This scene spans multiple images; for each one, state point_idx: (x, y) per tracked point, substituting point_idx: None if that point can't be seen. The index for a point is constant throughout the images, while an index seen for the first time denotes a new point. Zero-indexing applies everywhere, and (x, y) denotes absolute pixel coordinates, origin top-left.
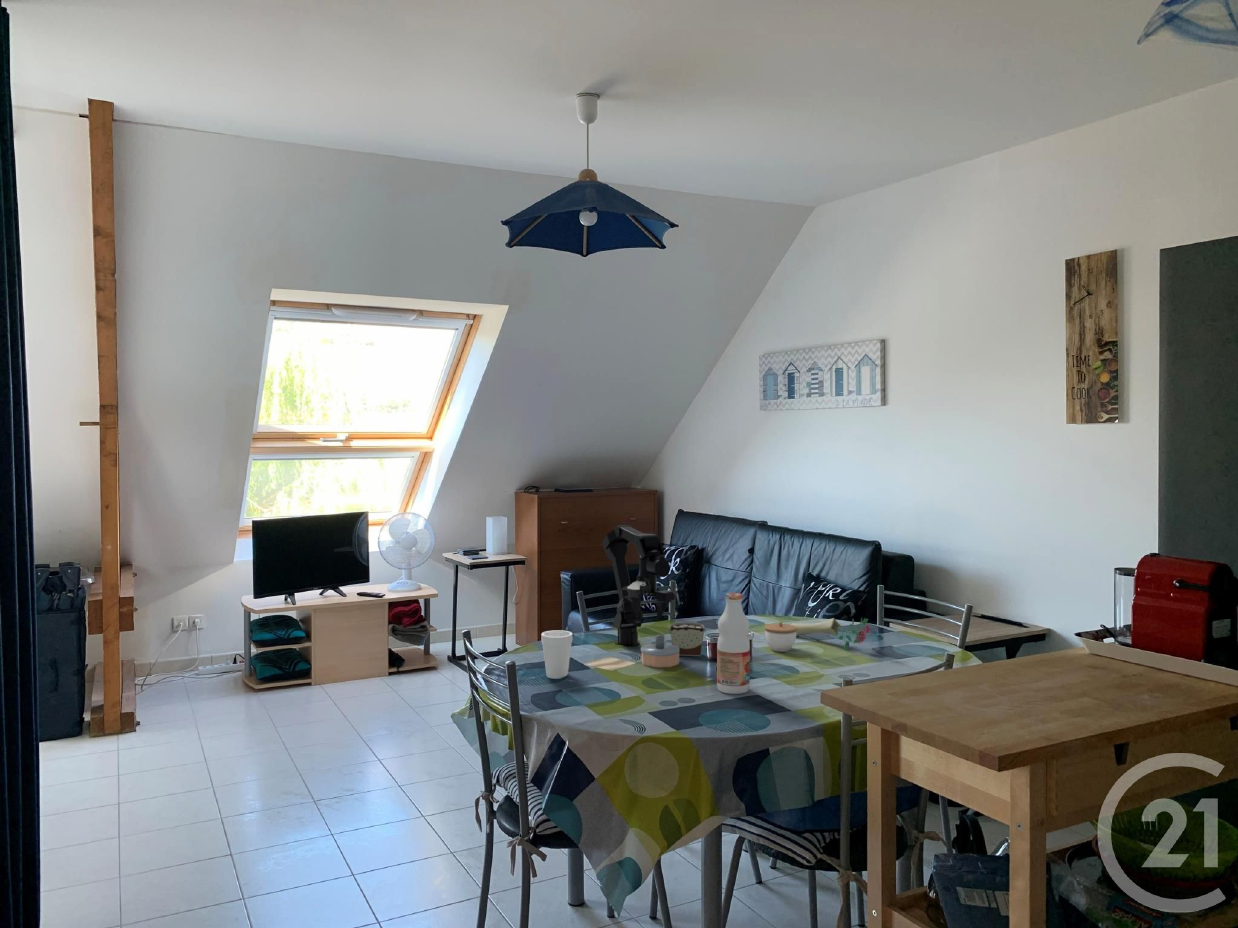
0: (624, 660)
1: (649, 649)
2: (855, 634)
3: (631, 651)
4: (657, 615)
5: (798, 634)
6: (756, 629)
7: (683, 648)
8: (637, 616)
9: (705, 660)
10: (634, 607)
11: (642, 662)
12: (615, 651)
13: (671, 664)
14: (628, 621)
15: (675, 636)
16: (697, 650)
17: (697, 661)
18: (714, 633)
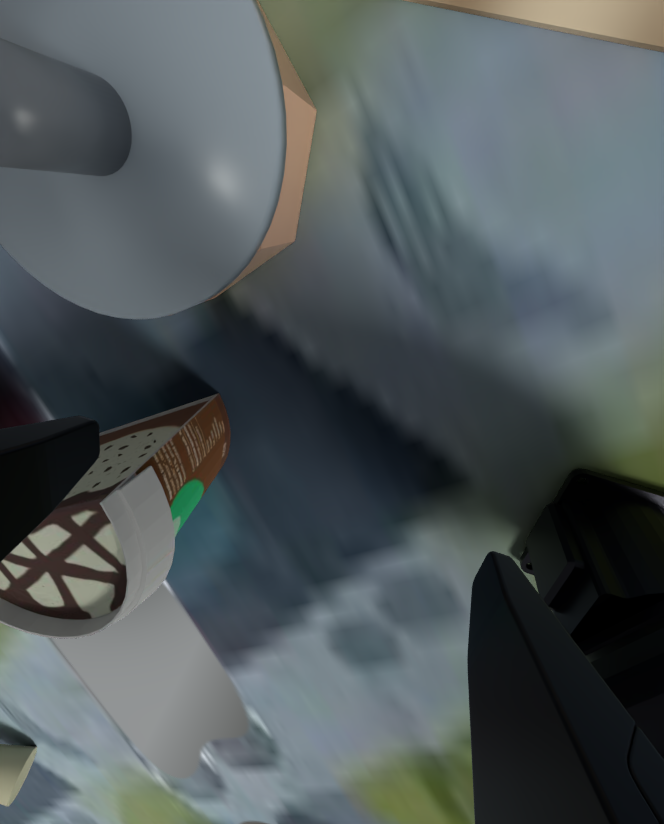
0: (456, 5)
1: None
2: None
3: (514, 375)
4: (4, 439)
5: (4, 745)
6: (167, 804)
7: (144, 429)
8: (482, 567)
9: (23, 356)
10: (568, 702)
11: (268, 23)
12: (653, 324)
13: None
14: (657, 628)
15: (135, 458)
16: None
17: (37, 317)
18: (258, 762)
